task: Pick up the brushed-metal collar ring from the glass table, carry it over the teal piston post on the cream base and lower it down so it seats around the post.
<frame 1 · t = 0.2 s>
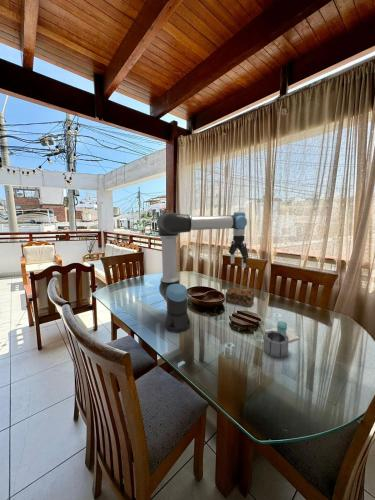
hand: (237, 265, 150), 28 cm above the table, fingers open, 13 cm apart
bread: (239, 302, 156), on the table
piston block: (281, 335, 115), on the table
ring: (275, 350, 103), on the table
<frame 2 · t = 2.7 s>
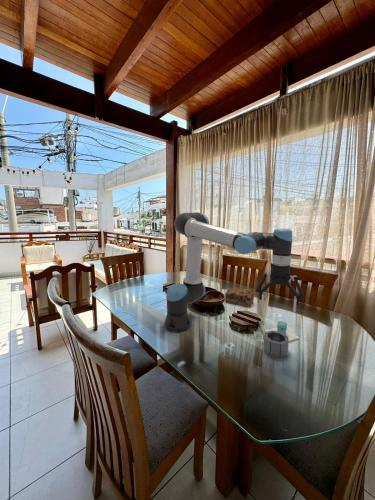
hand: (277, 308, 99), 21 cm above the table, fingers open, 13 cm apart
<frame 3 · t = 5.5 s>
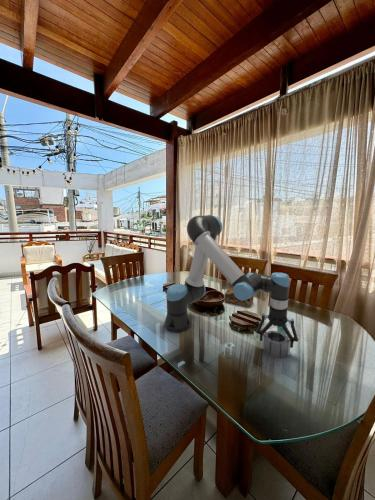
hand: (275, 350, 102), 0 cm above the table, fingers open, 11 cm apart
ring: (275, 350, 103), on the table, touching gripper
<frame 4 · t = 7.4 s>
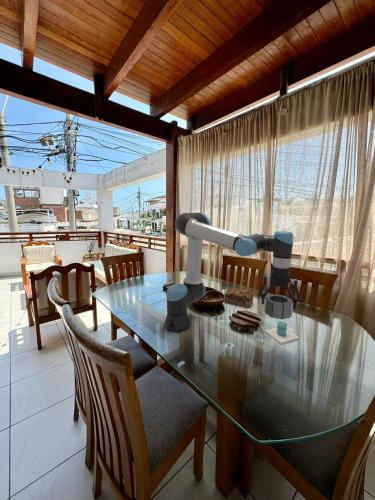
hand: (277, 312, 99), 19 cm above the table, fingers closed on ring, 10 cm apart
ring: (277, 313, 99), point 19 cm above the table, touching gripper
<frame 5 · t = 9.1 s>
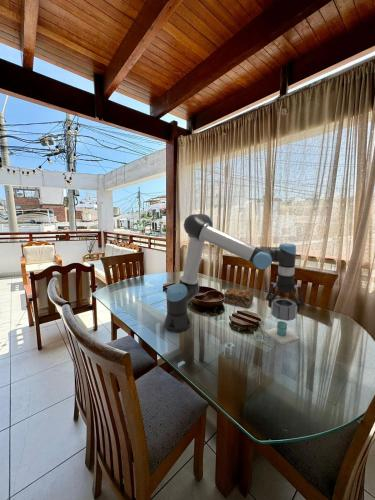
hand: (283, 315, 112), 12 cm above the table, fingers closed on ring, 10 cm apart
ring: (283, 315, 112), point 12 cm above the table, touching gripper
when the fingers open (3 cm above the table, at t = 12.0 s): ring drops 2 cm, resting on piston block.
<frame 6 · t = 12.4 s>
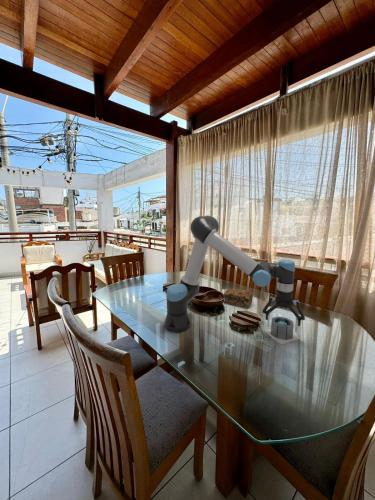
hand: (281, 328, 114), 4 cm above the table, fingers open, 13 cm apart
ring: (281, 333, 114), point 1 cm above the table, touching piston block
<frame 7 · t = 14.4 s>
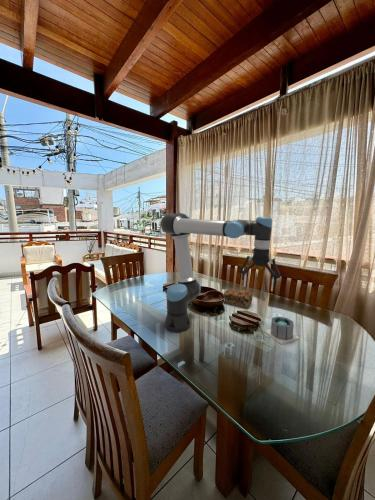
hand: (257, 288, 112), 26 cm above the table, fingers open, 13 cm apart
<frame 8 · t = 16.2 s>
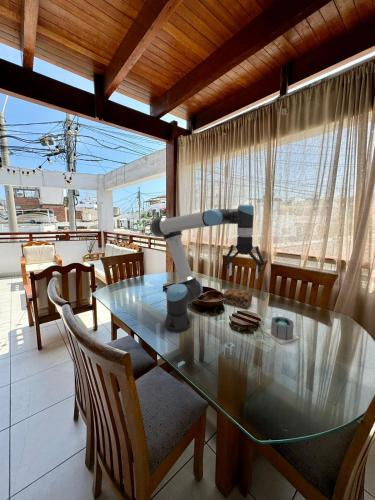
hand: (243, 276, 112), 32 cm above the table, fingers open, 13 cm apart
at the end: ring 0.0 cm off-centre on the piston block, point 1.0 cm above the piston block's base; ring tilted 0°; the gripper is holding nothing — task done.
